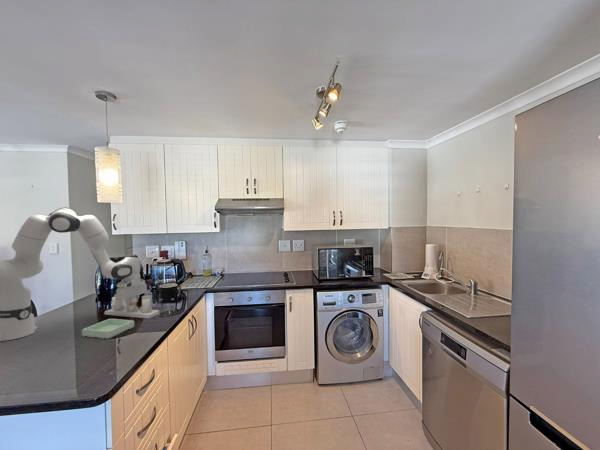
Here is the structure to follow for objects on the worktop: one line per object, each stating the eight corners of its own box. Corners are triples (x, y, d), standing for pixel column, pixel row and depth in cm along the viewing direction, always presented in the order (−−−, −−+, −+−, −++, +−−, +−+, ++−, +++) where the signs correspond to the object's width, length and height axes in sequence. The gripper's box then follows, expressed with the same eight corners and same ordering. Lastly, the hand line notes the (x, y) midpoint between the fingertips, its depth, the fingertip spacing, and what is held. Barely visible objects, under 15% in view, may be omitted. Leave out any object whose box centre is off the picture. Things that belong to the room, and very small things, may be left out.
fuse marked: (126, 311, 169) (126, 295, 169) (132, 309, 174) (132, 294, 174) (132, 312, 168) (132, 296, 168) (138, 310, 173) (138, 294, 173)
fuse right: (139, 312, 167) (140, 296, 167) (145, 310, 172) (145, 294, 172) (146, 313, 167) (146, 297, 166) (151, 311, 171) (151, 295, 171)
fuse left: (112, 310, 171) (112, 294, 171) (118, 308, 176) (118, 293, 176) (118, 311, 170) (118, 295, 170) (124, 308, 175) (124, 293, 175)
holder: (104, 314, 170) (104, 306, 170) (116, 310, 179) (116, 302, 179) (149, 318, 164) (149, 310, 164) (159, 313, 173) (159, 305, 172)
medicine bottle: (128, 306, 186) (128, 289, 186) (116, 309, 180) (116, 291, 180) (123, 305, 190) (123, 288, 190) (111, 307, 184) (111, 290, 183)
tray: (82, 336, 137) (82, 329, 137) (109, 324, 153) (109, 318, 153) (108, 339, 134) (108, 331, 134) (134, 326, 150) (134, 320, 150)
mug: (161, 298, 206) (161, 283, 206) (183, 298, 208) (183, 282, 208) (152, 305, 190) (152, 288, 190) (176, 304, 192) (176, 287, 192)
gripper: (140, 278, 182) (140, 298, 182) (114, 285, 162) (114, 308, 162) (148, 278, 181) (148, 299, 181) (123, 285, 161) (123, 308, 161)
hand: (132, 303), depth 171 cm, fingers closed on fuse marked, 5 cm apart
